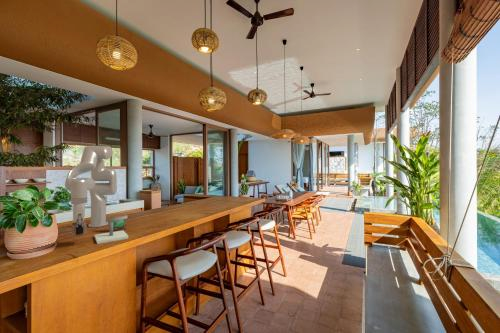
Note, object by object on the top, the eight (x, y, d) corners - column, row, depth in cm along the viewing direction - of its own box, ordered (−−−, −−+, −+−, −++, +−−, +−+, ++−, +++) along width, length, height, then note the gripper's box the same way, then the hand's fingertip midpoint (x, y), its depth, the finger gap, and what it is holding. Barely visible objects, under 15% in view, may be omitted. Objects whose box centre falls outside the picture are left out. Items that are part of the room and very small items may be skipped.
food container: (104, 232, 153) (104, 217, 153) (108, 230, 159) (108, 215, 159) (124, 231, 155) (124, 216, 155) (127, 229, 161) (127, 215, 161)
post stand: (94, 237, 143) (94, 221, 143) (123, 232, 153) (123, 218, 153) (97, 243, 131) (97, 227, 131) (128, 238, 141) (128, 222, 141)
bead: (72, 233, 132) (72, 222, 132) (86, 231, 136) (85, 221, 136) (72, 236, 127) (72, 225, 127) (86, 234, 131) (86, 223, 131)
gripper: (70, 199, 135) (70, 229, 136) (71, 203, 122) (71, 237, 122) (86, 198, 140) (86, 227, 140) (88, 202, 126) (88, 234, 127)
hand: (79, 231), depth 131 cm, fingers closed on bead, 6 cm apart
